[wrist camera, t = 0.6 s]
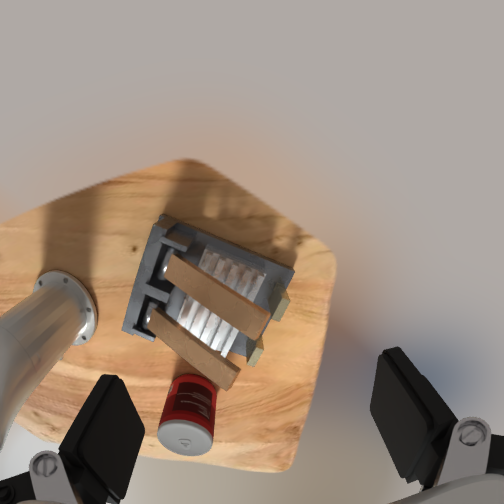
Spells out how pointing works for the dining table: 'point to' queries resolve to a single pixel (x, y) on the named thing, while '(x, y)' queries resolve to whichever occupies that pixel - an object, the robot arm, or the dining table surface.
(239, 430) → the dining table surface
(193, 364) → the strap
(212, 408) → the canned food
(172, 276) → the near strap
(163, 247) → the heatsink block
